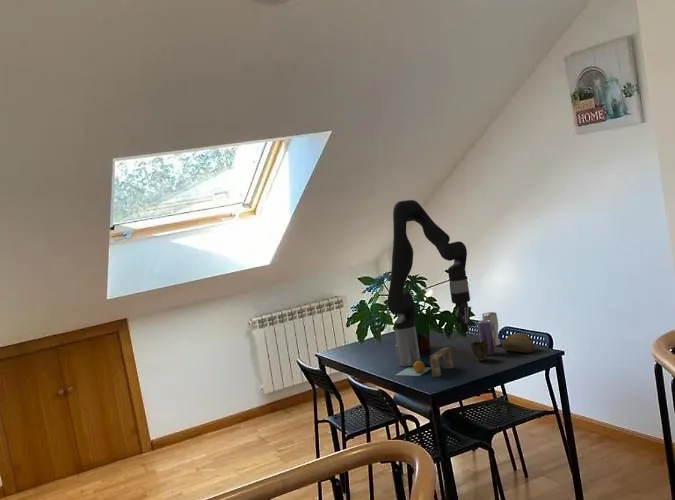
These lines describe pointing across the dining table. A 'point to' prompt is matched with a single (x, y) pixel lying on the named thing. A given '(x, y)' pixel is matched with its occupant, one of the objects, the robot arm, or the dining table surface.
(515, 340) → the bread roll
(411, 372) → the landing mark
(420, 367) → the ball
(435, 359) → the bridge
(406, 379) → the dining table surface
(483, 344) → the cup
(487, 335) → the beverage can
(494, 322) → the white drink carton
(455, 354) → the dining table surface
